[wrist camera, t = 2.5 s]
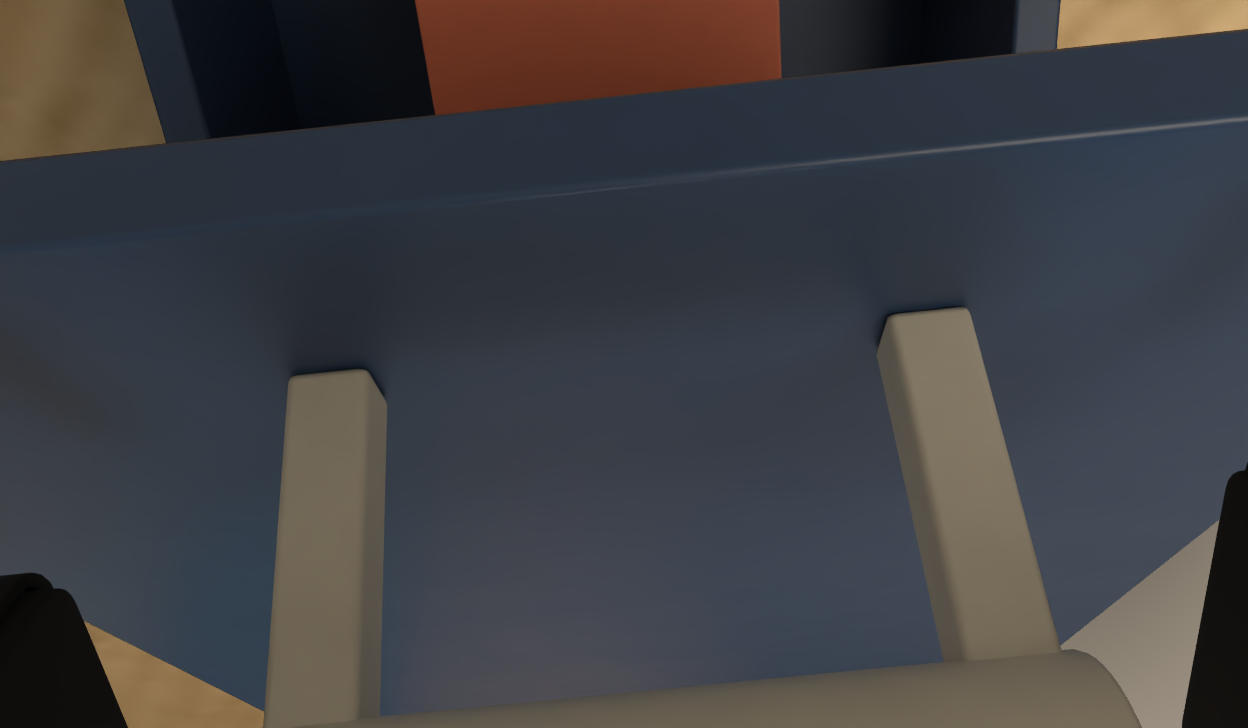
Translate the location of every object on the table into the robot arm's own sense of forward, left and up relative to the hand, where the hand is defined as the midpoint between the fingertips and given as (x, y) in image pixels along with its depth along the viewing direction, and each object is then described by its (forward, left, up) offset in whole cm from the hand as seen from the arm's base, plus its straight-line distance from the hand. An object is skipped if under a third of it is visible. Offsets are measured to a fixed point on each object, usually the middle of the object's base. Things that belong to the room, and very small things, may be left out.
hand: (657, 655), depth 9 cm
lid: (+4, 0, -6) cm, 7 cm away
